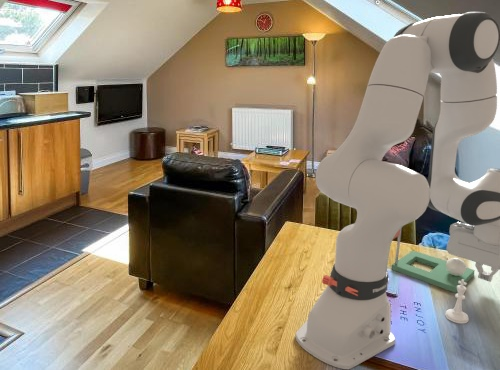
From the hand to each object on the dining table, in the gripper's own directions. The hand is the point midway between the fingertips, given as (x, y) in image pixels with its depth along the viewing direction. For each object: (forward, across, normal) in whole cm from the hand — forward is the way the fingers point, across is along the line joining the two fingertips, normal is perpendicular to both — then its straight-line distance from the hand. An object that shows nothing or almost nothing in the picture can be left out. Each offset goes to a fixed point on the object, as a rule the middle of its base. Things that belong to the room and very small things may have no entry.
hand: (484, 279), depth 102 cm
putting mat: (+3, -13, -2) cm, 14 cm away
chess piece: (+3, 0, -18) cm, 18 cm away
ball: (-1, -7, 0) cm, 7 cm away
